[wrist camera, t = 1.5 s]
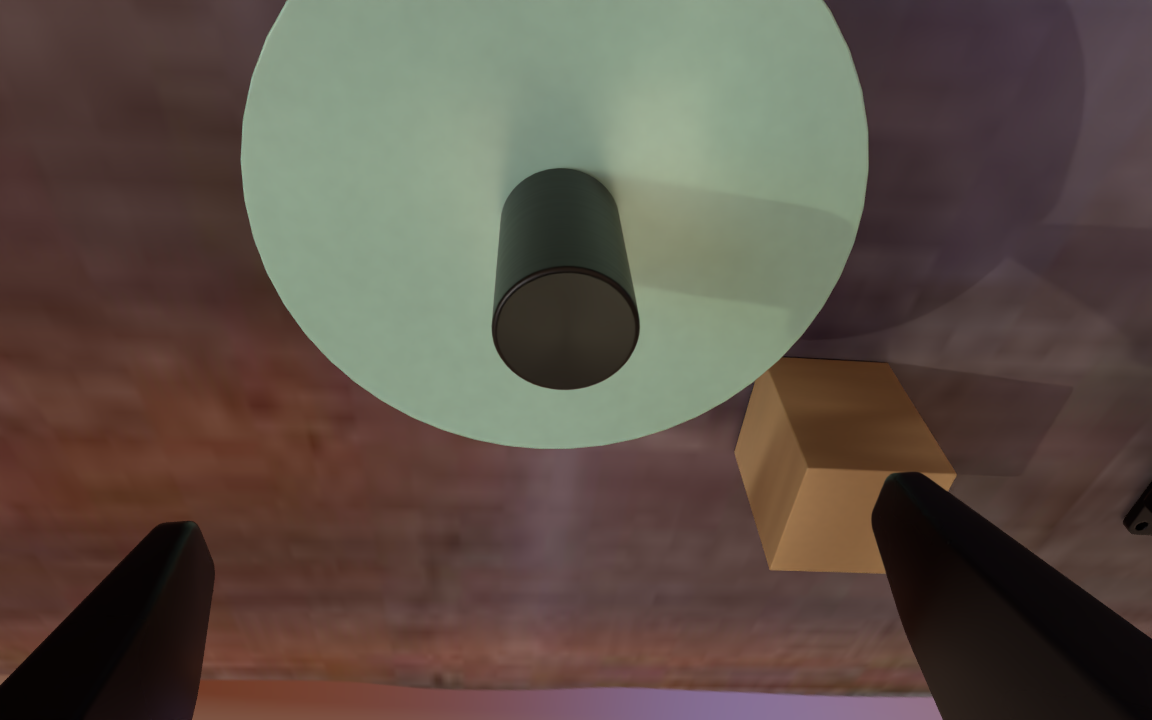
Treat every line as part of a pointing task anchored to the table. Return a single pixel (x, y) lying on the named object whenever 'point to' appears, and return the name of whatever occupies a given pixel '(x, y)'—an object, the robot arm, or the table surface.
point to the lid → (554, 201)
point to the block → (829, 459)
